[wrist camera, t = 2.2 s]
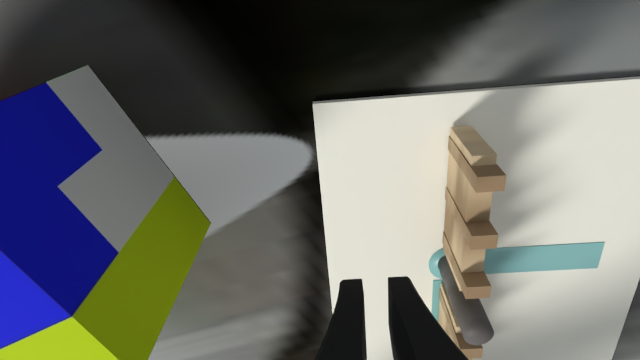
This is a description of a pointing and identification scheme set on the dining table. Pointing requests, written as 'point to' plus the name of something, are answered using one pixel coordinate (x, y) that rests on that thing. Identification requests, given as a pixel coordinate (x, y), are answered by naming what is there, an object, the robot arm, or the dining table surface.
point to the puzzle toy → (86, 227)
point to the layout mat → (493, 208)
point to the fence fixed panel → (462, 315)
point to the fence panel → (470, 209)
